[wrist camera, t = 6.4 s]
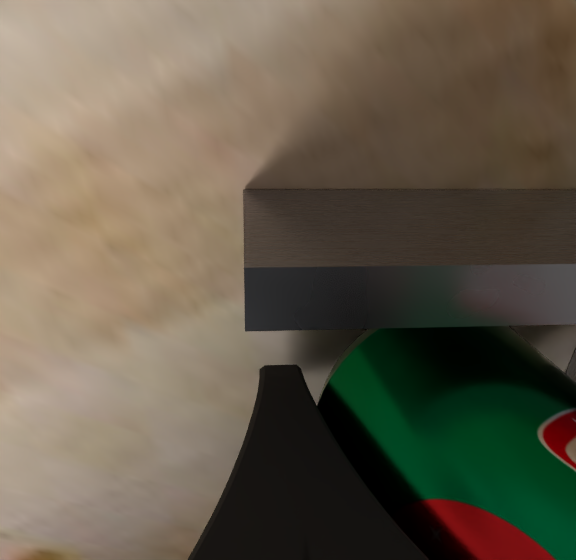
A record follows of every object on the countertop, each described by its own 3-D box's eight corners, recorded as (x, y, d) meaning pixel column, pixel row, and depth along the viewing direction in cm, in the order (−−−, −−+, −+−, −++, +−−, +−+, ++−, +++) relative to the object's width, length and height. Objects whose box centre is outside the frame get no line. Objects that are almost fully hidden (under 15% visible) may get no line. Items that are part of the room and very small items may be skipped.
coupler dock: (569, 490, 17) (674, 664, 13) (247, 506, 16) (249, 698, 12) (740, 153, 11) (1041, 277, 7) (243, 150, 10) (244, 289, 6)
